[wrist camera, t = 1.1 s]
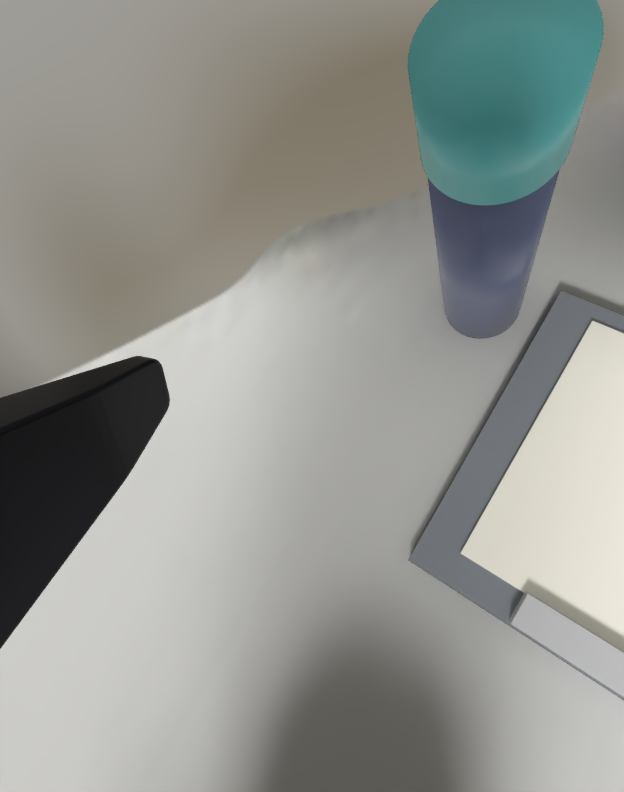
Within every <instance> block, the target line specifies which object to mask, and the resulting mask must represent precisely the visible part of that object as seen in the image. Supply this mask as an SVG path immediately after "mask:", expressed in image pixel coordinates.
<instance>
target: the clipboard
mask: <svg viewBox="0 0 624 792" xmlns="http://www.w3.org/2000/svg"><path fill="white" fill-rule="evenodd" d="M408 560H409V561H411V562H412V563H414V564H415V565H417V566H418V567H420V568H421V569H423V570H424V571H426V572H427V573H429V574H430V575H432V576H434V577H435V578H437V579H438V580H440V581H441V582H443V583H444V584H446V585H447V586H449V587H450V588H452V589H454V590H455V591H457V592H458V593H460V594H461V595H463V596H464V597H466V598H467V599H469V600H470V601H472V602H473V603H475V604H477V605H478V606H480V607H481V608H483V609H484V610H486V611H487V612H489V613H490V614H492V615H493V616H495V617H497V618H498V619H500V620H501V621H503V622H504V623H506V624H507V625H509V626H510V627H512V628H513V629H515V630H517V631H518V632H520V633H521V634H523V635H524V636H526V637H527V638H529V639H530V640H532V641H533V642H535V643H536V644H538V645H540V646H541V647H543V648H544V649H546V650H547V651H549V652H550V653H552V654H553V655H555V656H556V657H558V658H560V659H561V660H563V661H564V662H566V663H567V664H569V665H570V666H572V667H573V668H575V669H576V670H578V671H579V672H581V673H583V674H584V675H586V676H587V677H589V678H590V679H592V680H593V681H595V682H596V683H598V684H599V685H601V686H603V687H604V688H606V689H607V690H609V691H610V692H612V693H613V694H615V695H616V696H618V697H619V698H621V699H622V700H624V315H621V314H619V313H616V312H614V311H611V310H609V309H606V308H604V307H601V306H599V305H596V304H594V303H591V302H589V301H586V300H584V299H581V298H579V297H576V296H574V295H571V294H569V293H566V292H564V291H561V292H560V294H559V295H558V297H557V299H556V301H555V303H554V304H553V306H552V308H551V310H550V311H549V313H548V315H547V317H546V318H545V320H544V322H543V324H542V325H541V327H540V329H539V331H538V332H537V334H536V336H535V338H534V339H533V341H532V343H531V345H530V346H529V348H528V350H527V352H526V354H525V355H524V357H523V359H522V361H521V362H520V364H519V366H518V368H517V369H516V371H515V373H514V375H513V376H512V378H511V380H510V382H509V383H508V385H507V387H506V389H505V390H504V392H503V394H502V396H501V397H500V399H499V401H498V403H497V405H496V406H495V408H494V410H493V412H492V413H491V415H490V417H489V419H488V420H487V422H486V424H485V426H484V427H483V429H482V431H481V433H480V434H479V436H478V438H477V440H476V441H475V443H474V445H473V447H472V448H471V450H470V452H469V454H468V456H467V457H466V459H465V461H464V463H463V464H462V466H461V468H460V470H459V471H458V473H457V475H456V477H455V478H454V480H453V482H452V484H451V485H450V487H449V489H448V491H447V492H446V494H445V496H444V498H443V500H442V501H441V503H440V505H439V507H438V508H437V510H436V512H435V514H434V515H433V517H432V519H431V521H430V522H429V524H428V526H427V528H426V529H425V531H424V533H423V535H422V536H421V538H420V540H419V542H418V543H417V545H416V547H415V549H414V551H413V552H412V554H411V556H410V558H409V559H408Z"/></svg>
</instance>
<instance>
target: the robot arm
mask: <svg viewBox="0 0 624 792" xmlns="http://www.w3.org/2000/svg"><path fill="white" fill-rule="evenodd" d="M169 402H170V397H169V392H168V388H167V384H166V380H165V376H164V372H163V368H162V365H161V364H160V362H159V361H158V360H156V359H152V358H147V357H142V356H135V357H131V358H128V359H125V360H121V361H118V362H115V363H112V364H108V365H105V366H102V367H99V368H95V369H92V370H89V371H86V372H82V373H79V374H76V375H73V376H69V377H66V378H63V379H60V380H57V381H53V382H50V383H47V384H44V385H40V386H37V387H34V388H31V389H27V390H24V391H21V392H18V393H14V394H11V395H8V396H5V397H2V398H0V649H1V647H2V646H3V645H4V643H5V642H6V641H7V639H8V638H9V636H10V635H11V634H12V632H13V631H14V630H15V628H16V627H17V626H18V624H19V623H20V622H21V620H22V619H23V618H24V616H25V615H26V614H27V612H28V611H29V609H30V608H31V607H32V605H33V604H34V603H35V601H36V600H37V599H38V597H39V596H40V595H41V593H42V592H43V591H44V589H45V588H46V586H47V585H48V584H49V582H50V581H51V580H52V578H53V577H54V576H55V574H56V573H57V572H58V570H59V569H60V568H61V566H62V565H63V564H64V562H65V561H66V559H67V558H68V557H69V555H70V554H71V553H72V551H73V550H74V549H75V547H76V546H77V545H78V543H79V542H80V541H81V539H82V538H83V537H84V535H85V534H86V532H87V531H88V530H89V528H90V527H91V526H92V524H93V523H94V522H95V520H96V519H97V518H98V516H99V515H100V514H101V512H102V511H103V509H104V508H105V507H106V505H107V504H108V503H109V501H110V500H111V499H112V497H113V496H114V495H115V493H116V492H117V491H118V489H119V488H120V486H121V485H122V484H123V482H124V481H125V479H126V478H127V477H128V475H129V473H130V472H131V470H132V469H133V467H134V465H135V464H136V462H137V460H138V459H139V457H140V455H141V454H142V452H143V450H144V449H145V447H146V445H147V444H148V442H149V440H150V439H151V437H152V435H153V434H154V432H155V430H156V429H157V427H158V425H159V423H160V422H161V420H162V418H163V417H164V415H165V413H166V412H167V410H168V407H169Z"/></svg>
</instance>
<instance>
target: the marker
mask: <svg viewBox="0 0 624 792" xmlns="http://www.w3.org/2000/svg"><path fill="white" fill-rule="evenodd" d="M602 38H603V19H602V13H601V11H600V8H599V5H598V2H597V1H596V0H439V1H438V2H437V3H436V4H435V5H434V6H433V7H432V8H431V9H430V10H429V12H428V13H427V14H426V15H425V17H424V18H423V20H422V21H421V23H420V24H419V26H418V28H417V30H416V32H415V34H414V37H413V40H412V42H411V45H410V50H409V56H408V72H409V79H410V86H411V94H412V100H413V108H414V115H415V121H416V128H417V136H418V143H419V149H420V156H421V162H422V166H423V168H424V171H425V173H426V175H427V177H428V183H429V191H430V199H431V206H432V214H433V222H434V230H435V237H436V245H437V253H438V261H439V268H440V276H441V284H442V292H443V299H444V307H445V313H446V316H447V319H448V321H449V322H450V324H451V325H452V326H453V327H454V328H455V329H456V330H457V331H458V332H460V333H461V334H463V335H466V336H468V337H472V338H489V337H493V336H496V335H498V334H500V333H502V332H504V331H505V330H507V329H508V328H509V327H510V326H511V325H512V324H513V323H514V321H515V320H516V318H517V316H518V314H519V310H520V307H521V303H522V300H523V296H524V293H525V289H526V286H527V282H528V279H529V275H530V272H531V268H532V265H533V261H534V258H535V254H536V251H537V247H538V244H539V240H540V236H541V233H542V229H543V226H544V222H545V219H546V215H547V212H548V208H549V205H550V201H551V198H552V194H553V191H554V187H555V184H556V180H557V177H558V173H559V169H560V168H561V166H562V165H563V163H564V162H565V160H566V158H567V156H568V154H569V151H570V148H571V145H572V142H573V139H574V135H575V132H576V129H577V125H578V122H579V119H580V115H581V112H582V109H583V105H584V101H585V98H586V95H587V91H588V88H589V85H590V82H591V78H592V75H593V72H594V68H595V65H596V62H597V58H598V55H599V51H600V48H601V45H602Z"/></svg>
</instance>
